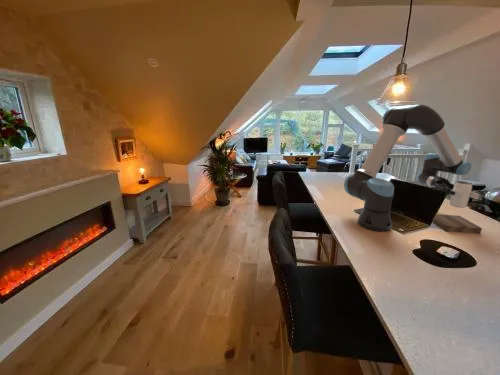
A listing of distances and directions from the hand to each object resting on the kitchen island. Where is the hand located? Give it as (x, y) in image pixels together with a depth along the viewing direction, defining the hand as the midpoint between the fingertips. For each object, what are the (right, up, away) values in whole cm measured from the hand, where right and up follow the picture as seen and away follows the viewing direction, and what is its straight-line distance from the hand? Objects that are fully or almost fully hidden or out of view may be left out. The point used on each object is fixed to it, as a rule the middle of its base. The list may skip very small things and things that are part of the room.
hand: (469, 196), depth 107 cm
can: (+1, -5, +7) cm, 8 cm away
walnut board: (+1, -16, +10) cm, 18 cm away
